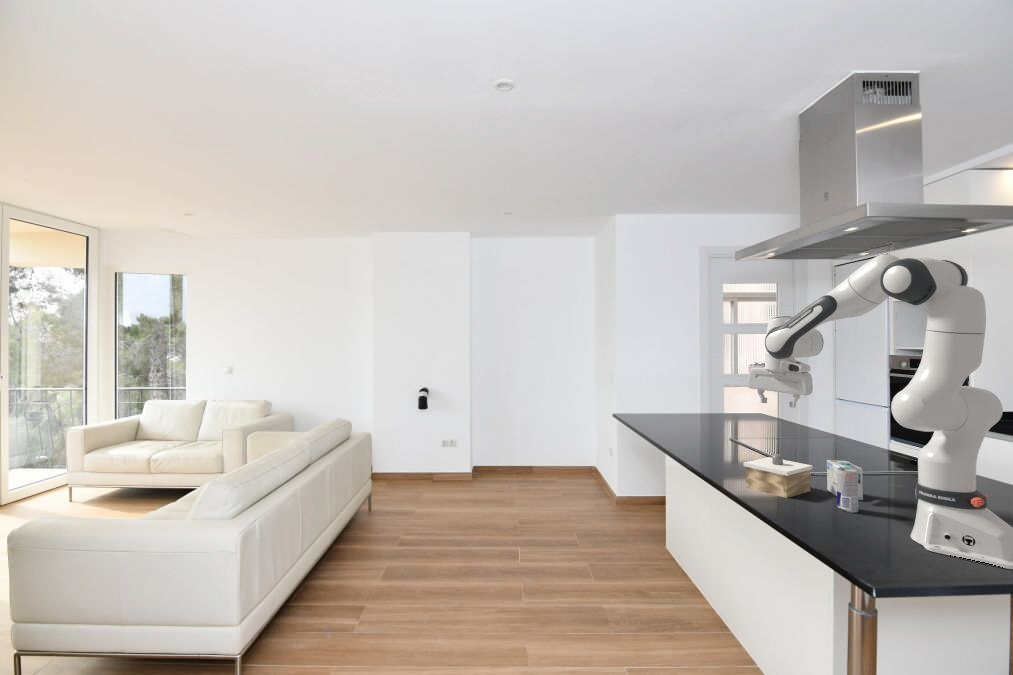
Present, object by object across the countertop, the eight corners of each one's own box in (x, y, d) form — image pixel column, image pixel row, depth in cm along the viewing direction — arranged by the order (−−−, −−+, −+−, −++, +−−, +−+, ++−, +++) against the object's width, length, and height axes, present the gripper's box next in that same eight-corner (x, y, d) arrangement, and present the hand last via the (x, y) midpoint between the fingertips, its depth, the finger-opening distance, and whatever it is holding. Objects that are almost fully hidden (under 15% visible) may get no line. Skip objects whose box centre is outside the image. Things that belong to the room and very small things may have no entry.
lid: (812, 471, 173) (812, 456, 173) (787, 478, 165) (787, 462, 165) (769, 462, 185) (769, 448, 186) (743, 468, 178) (743, 453, 178)
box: (810, 493, 173) (810, 469, 173) (786, 500, 165) (786, 475, 166) (769, 483, 185) (769, 460, 185) (745, 489, 177) (745, 466, 177)
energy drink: (845, 506, 159) (844, 466, 159) (862, 511, 154) (862, 471, 154) (832, 508, 157) (832, 468, 158) (850, 514, 152) (849, 472, 153)
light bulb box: (863, 502, 163) (863, 468, 163) (839, 501, 164) (839, 467, 164) (848, 493, 173) (848, 460, 173) (826, 491, 175) (825, 459, 175)
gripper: (744, 362, 183) (743, 401, 184) (807, 368, 167) (805, 410, 168) (753, 361, 187) (752, 399, 188) (815, 366, 171) (813, 408, 172)
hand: (777, 405), depth 178 cm, fingers open, 8 cm apart
